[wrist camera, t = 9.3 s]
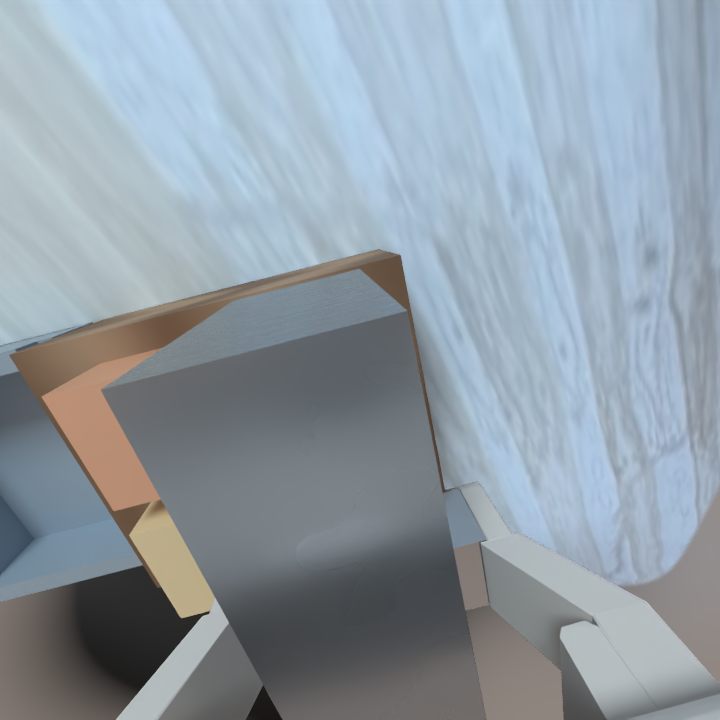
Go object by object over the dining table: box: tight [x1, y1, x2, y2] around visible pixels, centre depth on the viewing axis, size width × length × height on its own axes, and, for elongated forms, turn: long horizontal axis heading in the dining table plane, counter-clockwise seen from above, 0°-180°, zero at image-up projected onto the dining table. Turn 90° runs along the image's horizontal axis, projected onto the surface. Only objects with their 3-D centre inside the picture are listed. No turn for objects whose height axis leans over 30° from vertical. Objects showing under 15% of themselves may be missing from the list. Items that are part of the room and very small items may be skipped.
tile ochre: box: [129, 499, 215, 618], centre depth 13 cm, size 4×4×2 cm
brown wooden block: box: [9, 249, 445, 587], centre depth 15 cm, size 13×11×5 cm
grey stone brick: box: [101, 269, 486, 720], centre depth 8 cm, size 3×12×5 cm, turn 14°
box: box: [0, 322, 143, 602], centre depth 16 cm, size 9×11×4 cm
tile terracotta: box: [42, 348, 162, 511], centre depth 11 cm, size 4×4×2 cm
